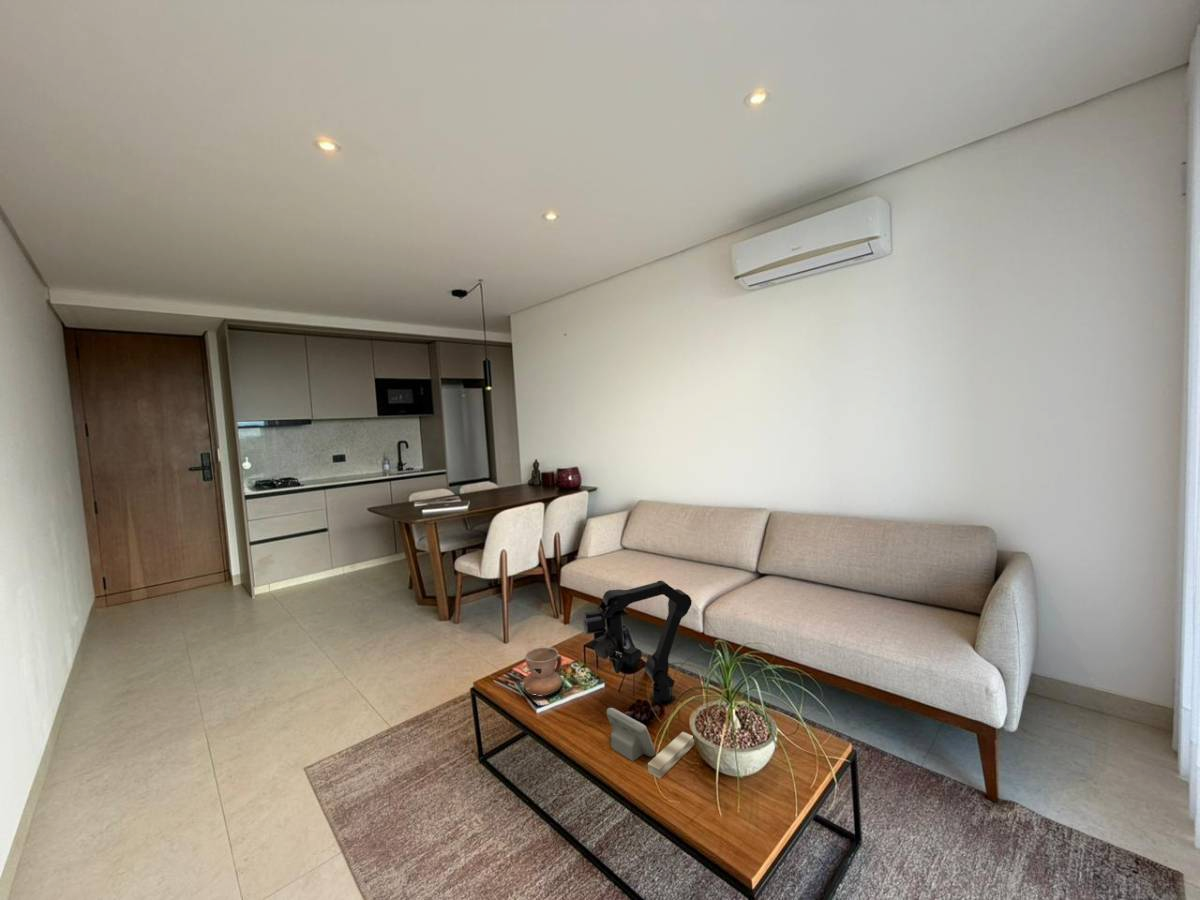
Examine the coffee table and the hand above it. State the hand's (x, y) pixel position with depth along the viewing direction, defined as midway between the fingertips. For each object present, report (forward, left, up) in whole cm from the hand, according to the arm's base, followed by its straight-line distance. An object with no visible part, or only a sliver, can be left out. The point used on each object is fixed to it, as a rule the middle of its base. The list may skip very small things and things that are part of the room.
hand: (617, 672), depth 169 cm
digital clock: (+12, +17, -13) cm, 25 cm away
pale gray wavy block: (+7, +29, -13) cm, 33 cm away
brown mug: (+10, -31, -13) cm, 35 cm away
